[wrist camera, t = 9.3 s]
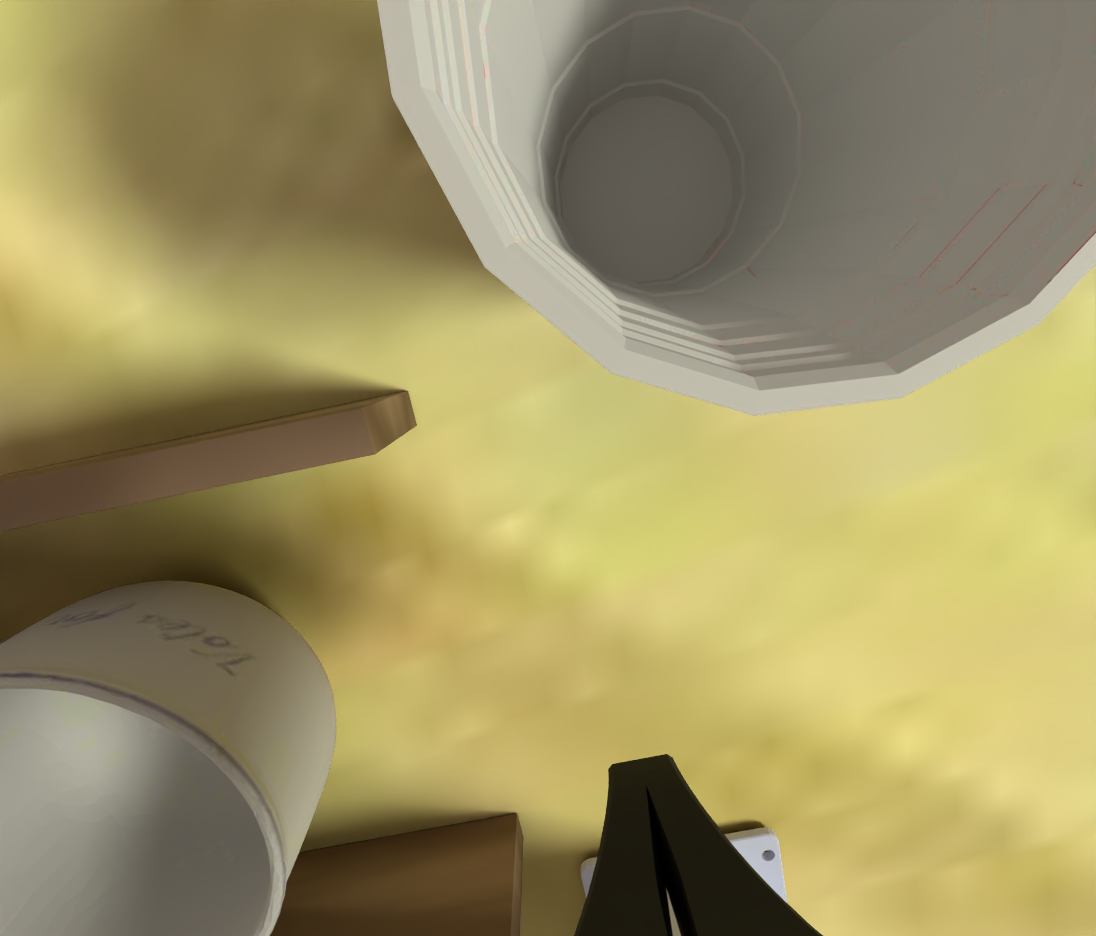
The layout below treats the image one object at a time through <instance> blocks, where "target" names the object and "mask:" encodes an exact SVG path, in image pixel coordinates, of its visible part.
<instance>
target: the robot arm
mask: <svg viewBox="0 0 1096 936" xmlns="http://www.w3.org/2000/svg"><path fill="white" fill-rule="evenodd" d="M608 772H609V788H608V800H607V808H606V815H605V821H604V827H603V832H602V837H601V843H600V848H599V852H598V857H594V858H590V859H587V860H585V861H584V862H583V863H582V865H581V879H582V883H583V888H584V892H585V896H586V901H585V905H584V908H583V911H582V914H581V917H580V920H579V923H578V926H577V929H576V932H575V934H574V936H823V935H821V934H820V933H819V932H818V931H817V930H815V929H814V928H813V927H812V926H811V925H810V924H809V923H807V922H806V921H805V920H804V919H803V918H802V917H801V916H800V915H799V914H798V913H797V912H796V911H795V910H794V909H793V908H792V907H791V906H789V905H788V904H787V897H786V889H785V882H784V875H783V868H782V861H781V853H780V846H779V841H778V838H777V836H776V834H775V832H774V831H773V830H772V829H770V828H757V829H751V830H746V831H740V832H734V833H729V834H723V832H722V831H721V830H720V829H719V827H718V826H717V825H716V823H715V822H714V821H713V820H712V818H711V817H710V816H709V814H708V813H707V812H706V810H705V809H704V808H703V806H702V805H701V804H700V802H699V801H698V799H697V798H696V796H695V795H694V793H693V792H692V790H691V789H690V787H689V786H688V784H687V783H686V781H685V780H684V778H683V776H682V775H681V773H680V771H679V769H678V768H677V766H676V764H675V762H674V760H673V758H672V757H671V756H669V755H668V754H665V755H659V756H654V757H649V758H643V759H638V760H632V761H627V762H621V763H616V764H612V765H611V767H610V768H609V769H608ZM767 850H769V851H767ZM764 851H767V852H764Z"/></svg>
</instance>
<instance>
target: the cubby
mask: <svg viewBox="0 0 1096 936" xmlns="http://www.w3.org/2000/svg"><path fill="white" fill-rule="evenodd" d="M415 426H417V424H416V420H415V417H414V413H413V409H412V405H411V401H410V397H409V393H408V391H404V392H399V393H394V394H390V395H385V396H380V397H375V398H370V399H366V400H361V401H356V402H351V403H347V404H342V405H337V406H332V407H327V408H323V409H318V410H313V411H308V412H303V413H299V414H294V415H289V416H284V417H280V418H275V419H270V420H265V421H260V422H256V423H251V424H246V425H241V426H236V427H232V428H227V429H222V430H217V431H213V432H208V433H203V434H198V435H193V436H189V437H184V438H179V439H174V440H169V441H165V442H160V443H155V444H150V445H146V446H141V447H136V448H131V449H126V450H122V451H117V452H112V453H107V454H102V455H98V456H93V457H88V458H83V459H79V460H74V461H69V462H64V463H59V464H55V465H50V466H45V467H40V468H35V469H31V470H26V471H21V472H16V473H12V474H7V475H2V476H0V531H4V530H9V529H14V528H19V527H24V526H29V525H33V524H38V523H43V522H48V521H53V520H58V519H63V518H67V517H72V516H77V515H82V514H87V513H92V512H97V511H102V510H106V509H111V508H116V507H121V506H126V505H131V504H136V503H140V502H145V501H150V500H155V499H160V498H165V497H170V496H175V495H179V494H184V493H189V492H194V491H199V490H204V489H209V488H213V487H218V486H223V485H228V484H233V483H238V482H243V481H248V480H252V479H257V478H262V477H267V476H272V475H277V474H282V473H286V472H291V471H296V470H301V469H306V468H311V467H316V466H321V465H325V464H330V463H335V462H340V461H345V460H350V459H355V458H359V457H364V456H369V455H374V454H376V453H377V452H379V451H380V450H382V449H383V448H385V447H386V446H388V445H389V444H391V443H392V442H393V441H395V440H396V439H398V438H399V437H401V436H402V435H404V434H405V433H407V432H408V431H409V430H411V429H412V428H414V427H415ZM522 860H523V835H522V831H521V827H520V823H519V819H518V815H517V813H516V814H511V815H505V816H500V817H494V818H489V819H483V820H478V821H472V822H467V823H461V824H456V825H450V826H445V827H440V828H434V829H429V830H423V831H418V832H412V833H407V834H401V835H396V836H390V837H385V838H379V839H374V840H368V841H363V842H357V843H352V844H346V845H341V846H335V847H330V848H324V849H319V850H313V851H308V852H302V853H299V854H298V856H297V858H296V861H295V863H294V866H293V868H292V870H291V873H290V875H289V877H288V880H287V882H286V890H285V896H284V900H283V903H282V907H281V911H280V915H279V917H278V919H277V921H276V924H275V926H274V929H273V931H272V933H271V934H270V936H520V914H521V887H522Z"/></svg>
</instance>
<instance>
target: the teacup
mask: <svg viewBox="0 0 1096 936" xmlns="http://www.w3.org/2000/svg"><path fill="white" fill-rule="evenodd" d="M335 739H336V712H335V704H334V698H333V693H332V689H331V686H330V683H329V680H328V678H327V675H326V673H325V671H324V669H323V666H322V664H321V662H320V660H319V659H318V657H317V656H316V654H315V653H314V651H313V650H312V648H311V647H310V645H309V644H308V643H307V642H306V640H305V639H304V638H303V637H302V636H301V635H300V634H299V633H298V632H297V630H296V629H295V628H294V627H293V626H291V625H290V624H289V623H288V622H286V621H285V620H284V619H283V618H282V617H280V616H279V615H278V614H277V613H275V612H274V611H272V610H270V609H269V608H267V607H265V606H264V605H262V604H261V603H259V602H257V601H255V600H253V599H251V598H249V597H247V596H244V595H241V594H239V593H236V592H234V591H231V590H228V589H224V588H221V587H218V586H214V585H208V584H203V583H197V582H189V581H149V582H141V583H135V584H129V585H125V586H121V587H117V588H112V589H109V590H106V591H103V592H100V593H97V594H94V595H92V596H90V597H87V598H85V599H82V600H80V601H77V602H75V603H73V604H71V605H69V606H67V607H65V608H63V609H61V610H59V611H57V612H55V613H53V614H51V615H49V616H47V617H46V618H44V619H42V620H40V621H38V622H37V623H35V624H33V625H31V626H29V627H28V628H26V629H24V630H22V631H21V632H19V633H17V634H16V635H14V636H13V637H11V638H9V639H8V640H6V641H4V642H3V643H1V644H0V936H270V934H271V933H272V931H273V929H274V926H275V924H276V921H277V919H278V917H279V915H280V911H281V907H282V903H283V900H284V896H285V890H286V882H287V880H288V877H289V875H290V873H291V870H292V868H293V866H294V863H295V861H296V858H297V856H298V854H299V851H300V849H301V846H302V844H303V841H304V839H305V836H306V834H307V831H308V829H309V826H310V824H311V821H312V818H313V816H314V813H315V811H316V808H317V805H318V802H319V799H320V797H321V794H322V791H323V788H324V785H325V782H326V780H327V776H328V773H329V769H330V766H331V761H332V757H333V752H334V747H335Z"/></svg>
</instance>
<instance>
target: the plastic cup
mask: <svg viewBox="0 0 1096 936" xmlns="http://www.w3.org/2000/svg"><path fill="white" fill-rule="evenodd" d="M377 4H378V11H379V17H380V24H381V30H382V36H383V43H384V49H385V56H386V62H387V68H388V75H389V81H390V88H391V94H392V98H393V100H394V101H395V103H396V105H397V107H398V109H399V111H400V112H401V114H402V116H403V118H404V120H405V122H406V124H407V125H408V127H409V129H410V131H411V133H412V135H413V136H414V138H415V140H416V142H417V144H418V146H419V147H420V149H421V151H422V153H423V155H424V157H425V159H426V160H427V162H428V164H429V166H430V168H431V170H432V171H433V173H434V175H435V177H436V179H437V181H438V183H439V184H440V186H441V188H442V190H443V192H444V194H445V195H446V197H447V199H448V201H449V203H450V205H451V207H452V208H453V210H454V212H455V214H456V216H457V218H458V219H459V221H460V223H461V225H462V227H463V229H464V230H465V232H466V234H467V236H468V238H469V240H470V242H471V243H472V245H473V247H474V249H475V251H476V253H477V254H478V256H479V258H480V260H481V262H482V264H483V266H484V267H485V268H486V269H487V270H488V271H490V272H491V273H492V274H493V275H494V276H496V277H497V278H498V279H499V280H500V281H502V282H503V283H504V284H505V285H506V286H508V287H509V288H510V289H511V290H512V291H513V292H515V293H516V294H517V295H518V296H519V297H521V298H522V299H523V300H524V301H525V302H527V303H528V304H529V305H530V306H531V307H533V308H534V309H535V310H536V311H537V312H539V313H540V314H541V315H542V316H543V317H544V318H546V319H547V320H548V321H549V322H550V323H552V324H553V325H554V326H555V327H556V328H558V329H559V330H560V331H561V332H562V333H564V334H565V335H566V336H567V337H568V338H570V339H571V340H572V341H573V342H574V343H576V344H577V345H578V346H579V347H580V348H581V349H583V350H584V351H585V352H586V353H587V354H589V355H590V356H591V357H592V358H593V359H595V360H596V361H597V362H598V363H599V364H601V365H602V366H603V367H604V368H605V369H607V370H608V371H609V372H610V373H612V374H615V375H618V376H622V377H625V378H629V379H632V380H635V381H639V382H642V383H645V384H649V385H652V386H655V387H659V388H662V389H666V390H669V391H672V392H676V393H679V394H682V395H686V396H689V397H693V398H696V399H699V400H703V401H706V402H709V403H713V404H716V405H719V406H723V407H726V408H730V409H733V410H736V411H740V412H743V413H746V414H750V415H753V416H757V415H766V414H774V413H782V412H790V411H799V410H807V409H815V408H824V407H832V406H840V405H849V404H857V403H865V402H873V401H882V400H890V399H898V398H902V397H904V396H906V395H908V394H909V393H911V392H913V391H915V390H917V389H919V388H921V387H923V386H924V385H926V384H928V383H930V382H932V381H934V380H936V379H938V378H939V377H941V376H943V375H945V374H947V373H949V372H951V371H952V370H954V369H956V368H958V367H960V366H962V365H964V364H966V363H967V362H969V361H971V360H973V359H975V358H977V357H979V356H980V355H982V354H984V353H986V352H988V351H990V350H992V349H994V348H995V347H997V346H999V345H1001V344H1003V343H1005V342H1007V341H1009V340H1010V339H1012V338H1014V337H1016V336H1018V335H1020V334H1022V333H1023V332H1025V331H1027V330H1029V329H1031V328H1033V327H1035V326H1037V325H1038V324H1040V323H1041V322H1042V321H1043V320H1044V318H1045V317H1046V316H1047V315H1048V314H1049V313H1050V312H1051V311H1052V310H1053V309H1054V308H1055V307H1056V306H1057V305H1058V304H1059V303H1060V302H1061V300H1062V299H1063V298H1064V297H1065V296H1066V295H1067V294H1068V293H1069V292H1070V291H1071V290H1072V289H1073V288H1074V287H1075V286H1076V285H1077V283H1078V282H1079V281H1080V280H1081V279H1082V278H1083V277H1084V276H1085V275H1086V274H1087V273H1088V272H1089V271H1090V270H1091V269H1092V268H1093V266H1094V265H1095V264H1096V0H377Z"/></svg>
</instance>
